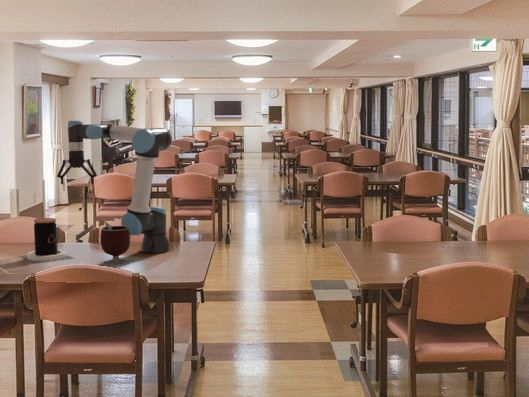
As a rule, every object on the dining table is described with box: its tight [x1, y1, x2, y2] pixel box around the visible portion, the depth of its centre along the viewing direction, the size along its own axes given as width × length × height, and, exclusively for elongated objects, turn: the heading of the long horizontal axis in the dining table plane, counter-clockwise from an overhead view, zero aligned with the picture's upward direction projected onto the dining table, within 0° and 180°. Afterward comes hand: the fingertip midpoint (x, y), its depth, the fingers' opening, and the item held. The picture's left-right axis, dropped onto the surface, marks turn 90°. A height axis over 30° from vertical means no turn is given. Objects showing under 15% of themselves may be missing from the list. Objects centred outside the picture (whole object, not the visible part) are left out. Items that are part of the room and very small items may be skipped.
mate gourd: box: [100, 220, 131, 267], centre depth 351 cm, size 16×14×20 cm
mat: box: [19, 254, 74, 265], centre depth 364 cm, size 22×20×1 cm
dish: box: [26, 248, 67, 262], centre depth 364 cm, size 18×18×2 cm
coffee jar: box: [33, 217, 58, 256], centre depth 363 cm, size 11×11×18 cm
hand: (77, 190), depth 387 cm, fingers open, 13 cm apart
